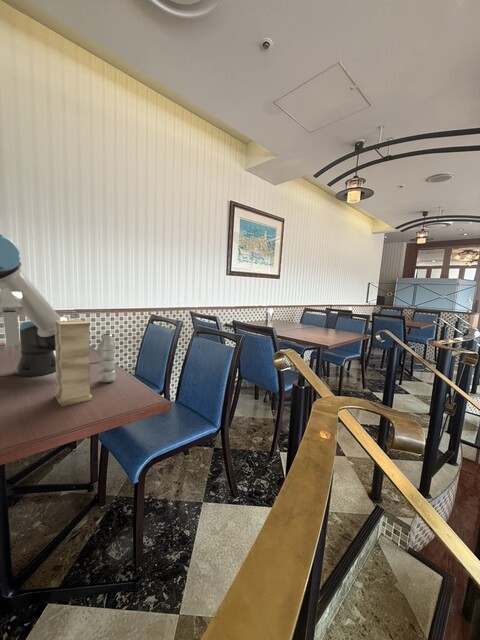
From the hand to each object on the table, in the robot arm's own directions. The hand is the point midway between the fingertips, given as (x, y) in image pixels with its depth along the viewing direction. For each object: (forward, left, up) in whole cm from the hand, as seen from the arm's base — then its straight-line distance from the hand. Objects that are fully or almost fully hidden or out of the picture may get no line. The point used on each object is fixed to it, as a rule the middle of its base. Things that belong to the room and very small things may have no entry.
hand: (10, 292), depth 78 cm
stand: (0, +15, -36) cm, 40 cm away
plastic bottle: (-10, +30, -37) cm, 48 cm away
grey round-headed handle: (0, +3, -8) cm, 8 cm away
